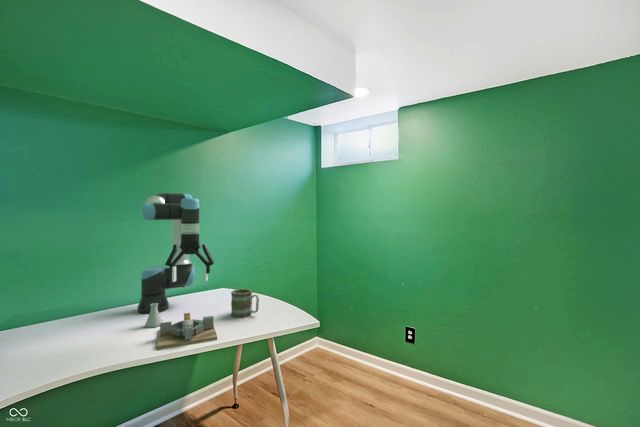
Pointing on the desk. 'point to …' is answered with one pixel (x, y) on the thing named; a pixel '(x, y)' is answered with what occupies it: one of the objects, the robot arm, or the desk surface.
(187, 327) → the ring nut
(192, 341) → the board
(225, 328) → the desk surface
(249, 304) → the mug
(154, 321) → the flask
